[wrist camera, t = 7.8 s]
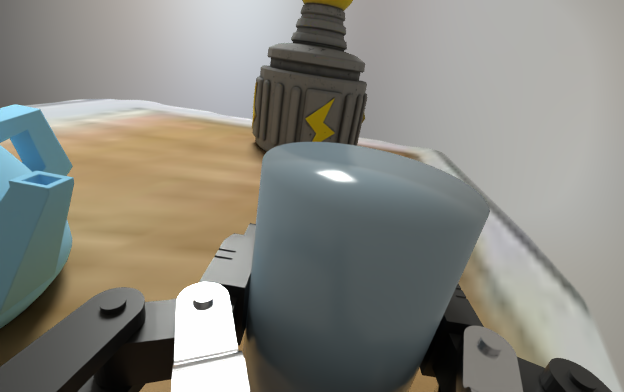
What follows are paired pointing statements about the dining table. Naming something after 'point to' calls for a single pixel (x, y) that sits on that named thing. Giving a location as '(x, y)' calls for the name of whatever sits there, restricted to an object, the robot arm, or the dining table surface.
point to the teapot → (31, 209)
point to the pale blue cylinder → (352, 267)
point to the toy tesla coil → (311, 83)
